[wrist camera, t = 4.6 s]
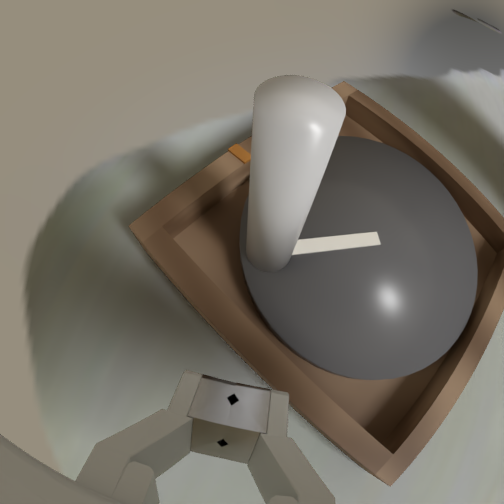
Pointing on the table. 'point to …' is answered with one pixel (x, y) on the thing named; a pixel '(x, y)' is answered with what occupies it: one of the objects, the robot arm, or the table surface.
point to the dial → (349, 241)
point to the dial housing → (283, 359)
